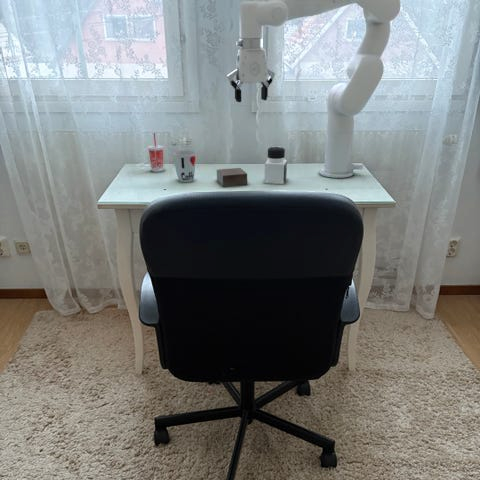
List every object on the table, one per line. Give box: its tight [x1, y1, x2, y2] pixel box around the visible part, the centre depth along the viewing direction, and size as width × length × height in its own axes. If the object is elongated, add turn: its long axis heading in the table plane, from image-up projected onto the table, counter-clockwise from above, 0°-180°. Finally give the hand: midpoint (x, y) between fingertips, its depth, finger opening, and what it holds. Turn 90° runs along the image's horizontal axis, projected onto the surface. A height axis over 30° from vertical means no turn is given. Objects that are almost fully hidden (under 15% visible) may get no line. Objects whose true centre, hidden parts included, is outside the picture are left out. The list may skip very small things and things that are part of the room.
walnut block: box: [216, 167, 248, 188], centre depth 187 cm, size 9×9×4 cm
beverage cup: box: [147, 132, 164, 173], centre depth 200 cm, size 6×6×14 cm
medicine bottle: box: [264, 146, 288, 185], centre depth 186 cm, size 7×7×12 cm
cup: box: [172, 149, 197, 183], centre depth 188 cm, size 8×8×10 cm
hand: (251, 100), depth 178 cm, fingers open, 9 cm apart
